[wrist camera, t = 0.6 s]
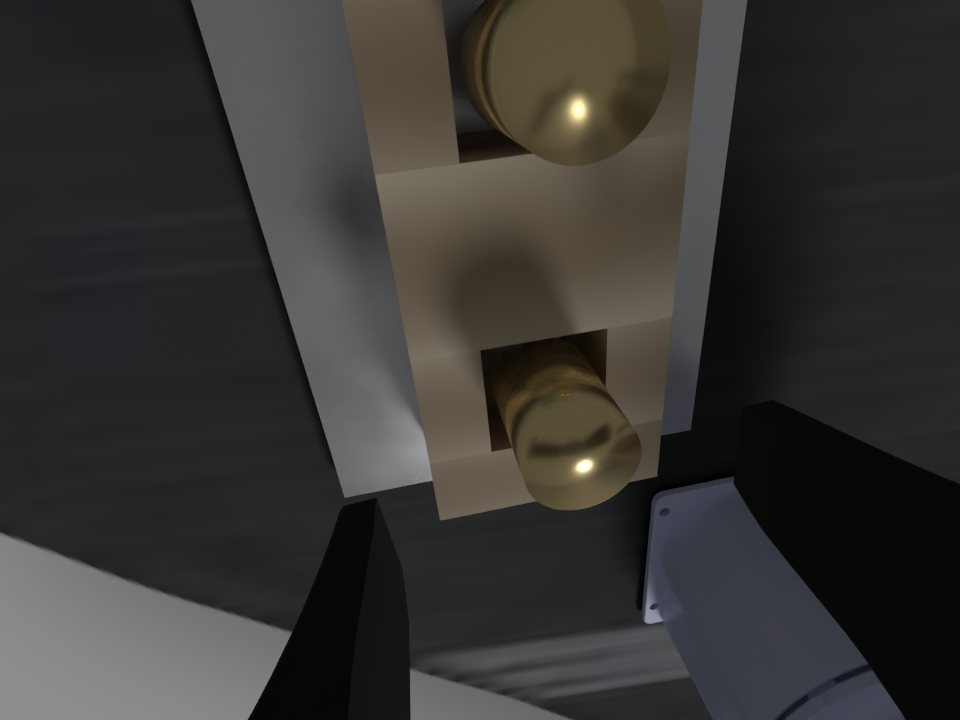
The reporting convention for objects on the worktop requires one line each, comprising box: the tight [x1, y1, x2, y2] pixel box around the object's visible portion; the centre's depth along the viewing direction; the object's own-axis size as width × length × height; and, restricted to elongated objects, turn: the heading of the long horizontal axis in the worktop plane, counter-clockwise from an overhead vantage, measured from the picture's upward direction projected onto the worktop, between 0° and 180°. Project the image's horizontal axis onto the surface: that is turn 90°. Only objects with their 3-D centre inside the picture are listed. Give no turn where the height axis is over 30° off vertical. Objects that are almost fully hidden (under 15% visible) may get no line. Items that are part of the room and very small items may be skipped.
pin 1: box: [460, 0, 671, 166], centre depth 10 cm, size 3×3×4 cm
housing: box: [342, 0, 703, 521], centre depth 15 cm, size 16×7×4 cm, turn 5°
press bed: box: [191, 0, 747, 497], centre depth 17 cm, size 20×14×1 cm
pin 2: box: [493, 338, 642, 510], centre depth 14 cm, size 3×3×4 cm
